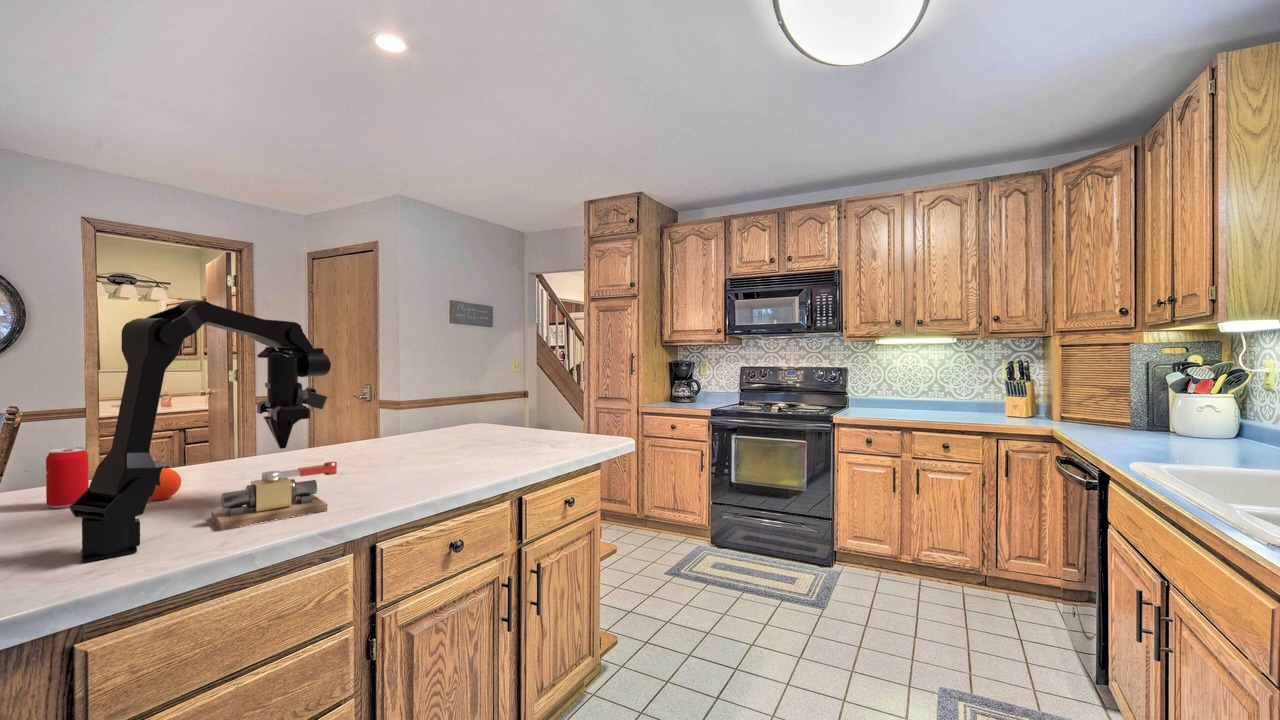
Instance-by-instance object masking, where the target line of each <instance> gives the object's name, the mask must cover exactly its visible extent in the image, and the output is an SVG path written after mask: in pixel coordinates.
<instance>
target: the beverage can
mask: <svg viewBox="0 0 1280 720" xmlns="http://www.w3.org/2000/svg"><path fill="white" fill-rule="evenodd" d="M89 483H90V481H89V454H88V451H86V448H85V447H82V446H81V447H80V446H79V447H78V446H77V447H73V446H72V447H64V448H62V447H61V448H56V449H51V450H49V453H48V455H47V456H46V458H45V488H46V489H45V490H46V491H45V492H46V498H45V500H46V502H45V503H46V506H47V507H48V508H51V509H68V507H69V508H70V506H71V505H72V504H73V503H74V502H75V501H76V500H77V499H78V498H79V497H80V496H81V495H82V494H83V493H84V492H85V491H86V490H87V489H88V488H89V486H90V484H89Z"/></svg>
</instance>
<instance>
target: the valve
mask: <svg viewBox="0 0 1280 720" xmlns="http://www.w3.org/2000/svg"><path fill="white" fill-rule="evenodd" d="M317 491H318V483H317V480H316V479H311V480H305V481H304V480H303V481H297V482H296V481H295V479H294V478H289V477H285V478H281V479H279V480H275V481H262V479H257V480H251V481H250V484H248V485H246V486H245V489H242V490H236V491H228V492H222V493H221V496H220V502H221V504H220V505H221V509H227V513H228V514H229V515H230V516H231V517H232V516H237V515H243V506H247V508H248V509H249V508H253V509H254V510H255V511H256V512H257V511H263V510H269V509H275V508H281V507H287V506H291V502H292V501H295V500H296V497H297V502H299V503H300V504H301V505H302V504H307V503H312V495H316V494H317Z"/></svg>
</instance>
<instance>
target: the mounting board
mask: <svg viewBox="0 0 1280 720" xmlns="http://www.w3.org/2000/svg"><path fill="white" fill-rule="evenodd" d="M311 495H312V503H307V504H302V505H301V504H300V503H299V502H297V497H296V500H295V501H292V502H291V506H287V507H281V508H275V509H269V510H263V511H257V512H256V511H255V510H254V509H253V508H249V509H248V508H247V506H246V505H243V515H237V516H232V517H231V516H230V515H229V514H228V513H227V508H224V509H223V508H220V509H217V510H211V520H212V519H213V520H214V521H215V522H214V521H213V520H212V521H213V522H214V524H215V525H216V524H217V525H218V526H217V525H216V526H217V528H218V529H219V528H220V529H221V530H222V531H224V530H223V529H228V530H231V529H230V528H233V529H236V528H235V527H238V528H241V527H240V526H244V527H246V526H245V525H249V526H251V525H250V524H255V523H260V522H265V521H271V520H275V519H282V518H287V517H292V516H298V515H302V514H309V513H314V514H316V513H315V512H319V513H323V511H325V512H327V511H328V503H327V502H325V501H323V499H320V498H319V497H317V496H316V495H315V494H311ZM321 511H322V512H321ZM309 515H310V514H309ZM298 517H299V516H298ZM292 518H293V517H292ZM287 519H288V518H287ZM282 520H283V519H282ZM271 522H272V521H271ZM265 523H266V522H265ZM260 524H261V523H260ZM255 525H256V524H255ZM220 529H219V530H220ZM221 530H220V531H221Z"/></svg>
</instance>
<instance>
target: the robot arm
mask: <svg viewBox="0 0 1280 720" xmlns="http://www.w3.org/2000/svg"><path fill="white" fill-rule="evenodd" d="M203 325H204V326H209V327H213V328H216V329H220V330H221V329H222V330H224V331H225V330H226V331H230V332H232V333H233V332H234V333H238V334H240V335H245V336H248V337H250V338H253V339H254V340H255V342H257V343H259V344H262V345H265V346H266V347H265V348H264V349H263V350H262V351H261V352H259V353H258V354H257V358H259V359H261V358H262V359H267V360H266V361H267V364H266V365H267V366H266V367H267V369H266V370H267V371H266V372H267V374H266V377H267V378H266V379H267V382H264V388H266V390H267V391H266V395H267V396H266V397H267V398H266V399H267V400H264V399H263V400H260V402H258V403H257V404H256V413H257V414H260V415H262V414H263V413H267V416H263V419H264V420H265V423H266V426H267V427H268V429H269V431H270V433H271V434H272V436H273V438H274V440H275V443H276V444H277V446H278V448H279V449H280V450H281V449H286V448H287V445H288V442H289V438H290V435H291V433H292V430H293V427H294V425H296V423H298V422H299V421H301V420H308V419H311V409H310V408H309V407H308V406H310V407H312V408H314V409H315V408H316V409H319V410H324V406H325V404H326V402H327V399H328V396H326V395H324V394H320V393H317V389H315V388H312V387H306V388H305V389H303V384H302V383H301V382H299V378H307V377H308V378H309V377H314V378H315V377H324V376H326V375H328V374H329V371H331V367H332V362H331V361H330V358H329V356H328V355H327V354H326V353H325V352H324V351H325V349H324V348H323V347H313V346H312V344H311V342H310V341H309V339H308V338H307V336H306V335H305V332H304V331H303V328H302V325H301V324H300V323H297V322H295V321H289V320H278V319H276V320H275V319H264V318H262V317H261V318H260V317H257V316H254V315H250V314H246V313H243V312H240V311H236V310H233V309H230V308H226V307H222V306H219V305H216V304H212V303H210V302H209V301H207V300H185V301H183V302H181V303H179V304H177V305H175V306H173V307H171V308H168V309H164V310H162V311H159V312H156V313H153V314H151V315H149V316H147V317H145V318H142V317H138V318H135V319H134V318H133V319H131V320H130V321H128V322H126V323H125V324H124V325H123V327H122V329H121V352H122V354H123V357H124V359H125V363H126V365H127V371H126V376H125V382H124V386H123V391H122V396H121V399H120V406H119V411H118V415H117V419H116V420H117V421H116V425H115V431H114V435H113V440H112V445H111V449H110V451H109V452H108V453H107V454H106V456H104V458H103V459H102V460H101V461H100V463H99V464H98V465H97V467H96V469H95V471H94V474H93V476H92V479H91V480H90V482H89V483H90V484H89V488H88V489H87V490H86V491H85V492H84V493H83V494H82V495H81V496H80V497H79V498H78V499H77V500H76V501H75V502H74V503H73V504H72V505H71V506H70V507H69V510H70V511H71V513H72V515H73V518H81V549H80V562H81V563H87V562H92V561H93V562H94V561H98V560H103V559H108V558H113V557H114V558H115V557H119V556H124V555H125V556H126V555H130V554H134V553H137V552H138V547H139V546H141V521H140V519H139V518H138V517H137V516H141V515H143V514H144V512H145V509H146V507H147V503H148V501H149V499H150V498H149V497H151V496H152V495H153V494H154V491H155V489H156V486H160V485H161V484H160V474H161V471H162V468H164V463H163V461H155V460H153V458H152V455H151V445H152V440H153V434H154V429H155V424H156V423H155V422H156V418H157V414H158V410H159V404H160V398H161V392H162V388H163V382H164V378H165V373H166V370H167V369H168V368H169V366H170V365H171V364H172V363H173V362H174V360H175V359H176V358H177V357H178V355H179V353H180V351H181V348H182V346H183V342H184V340H185V339H186V338H188V337H190V336H192V335H193V334H195V333H196V332H198V331H199V329H200V328H201V327H202V326H203ZM303 404H305V405H303ZM306 405H308V406H306Z"/></svg>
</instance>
